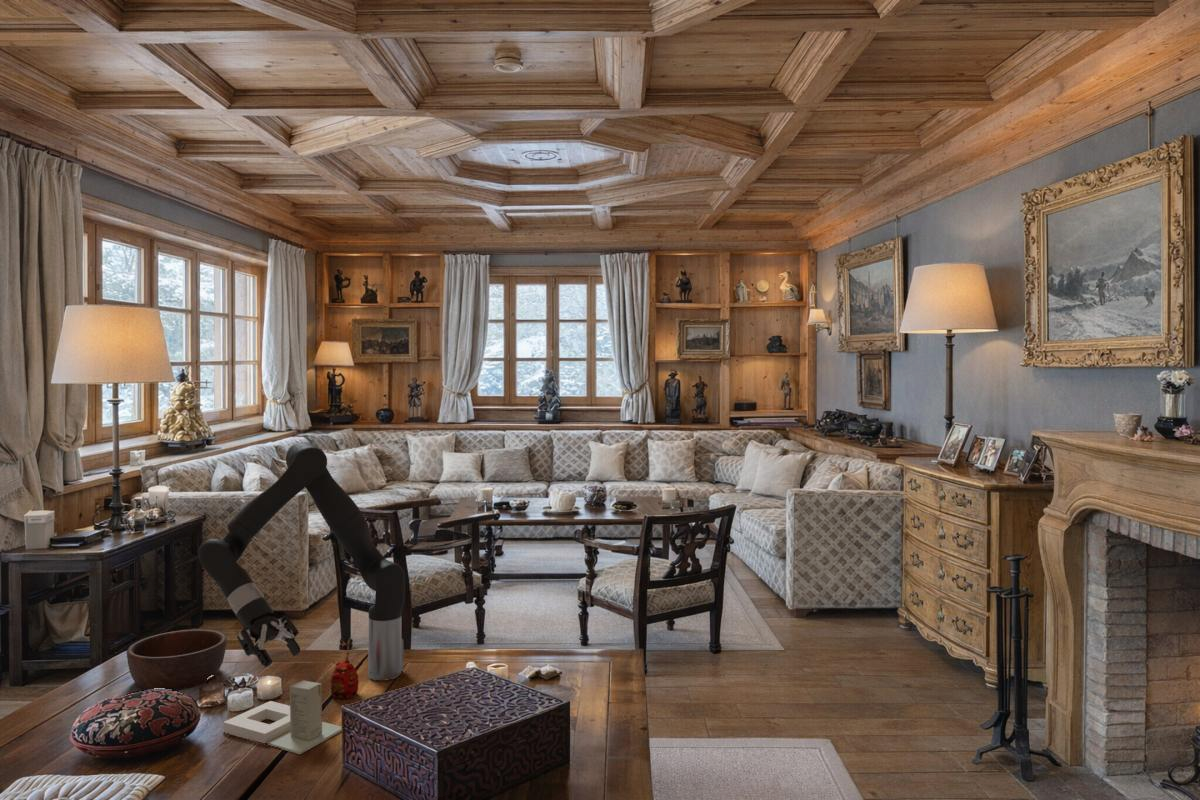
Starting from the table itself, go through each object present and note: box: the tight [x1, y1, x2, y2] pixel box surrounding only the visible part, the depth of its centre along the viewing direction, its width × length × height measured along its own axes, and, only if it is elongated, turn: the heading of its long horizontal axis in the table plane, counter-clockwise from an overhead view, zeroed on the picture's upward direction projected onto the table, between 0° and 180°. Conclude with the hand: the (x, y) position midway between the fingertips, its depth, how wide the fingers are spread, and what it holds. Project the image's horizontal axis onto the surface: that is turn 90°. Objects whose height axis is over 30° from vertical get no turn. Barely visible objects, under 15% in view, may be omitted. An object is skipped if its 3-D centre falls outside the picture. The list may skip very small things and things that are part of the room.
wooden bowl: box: [126, 628, 228, 691], centre depth 219 cm, size 25×25×10 cm
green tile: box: [267, 721, 342, 755], centre depth 184 cm, size 14×10×1 cm
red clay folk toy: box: [329, 637, 360, 700], centre depth 209 cm, size 8×7×15 cm
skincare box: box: [289, 680, 323, 740], centre depth 183 cm, size 6×4×12 cm
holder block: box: [222, 700, 290, 743], centre depth 189 cm, size 14×14×2 cm
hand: (283, 659), depth 187 cm, fingers open, 8 cm apart
